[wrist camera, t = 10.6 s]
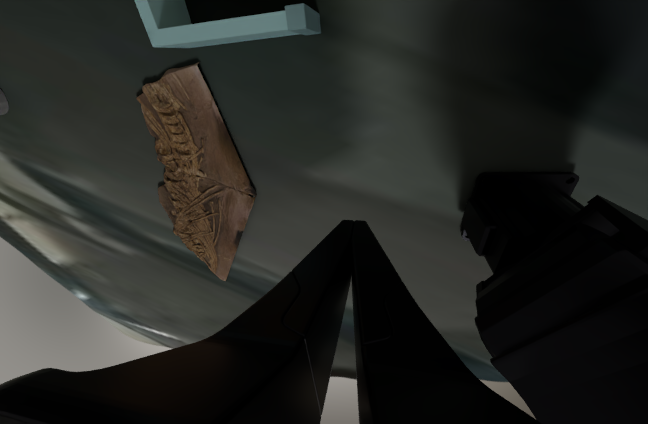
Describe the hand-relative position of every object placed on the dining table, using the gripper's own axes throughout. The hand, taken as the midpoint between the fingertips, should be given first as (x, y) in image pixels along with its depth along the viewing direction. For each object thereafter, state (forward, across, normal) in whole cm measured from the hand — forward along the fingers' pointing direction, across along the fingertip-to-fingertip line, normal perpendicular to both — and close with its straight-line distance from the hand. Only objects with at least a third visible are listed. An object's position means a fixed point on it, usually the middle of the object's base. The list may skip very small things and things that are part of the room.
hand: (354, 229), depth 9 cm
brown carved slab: (+12, +16, +6) cm, 22 cm away
